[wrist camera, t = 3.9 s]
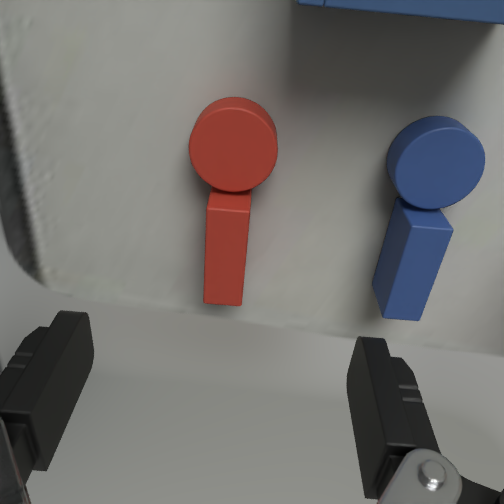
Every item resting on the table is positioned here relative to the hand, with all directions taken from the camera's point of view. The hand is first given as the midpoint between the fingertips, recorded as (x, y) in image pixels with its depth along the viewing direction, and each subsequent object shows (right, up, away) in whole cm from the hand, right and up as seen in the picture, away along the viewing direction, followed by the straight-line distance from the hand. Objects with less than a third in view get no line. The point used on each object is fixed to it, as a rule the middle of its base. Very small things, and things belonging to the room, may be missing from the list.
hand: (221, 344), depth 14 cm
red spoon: (0, +5, +5) cm, 7 cm away
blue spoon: (+8, +5, +5) cm, 10 cm away
